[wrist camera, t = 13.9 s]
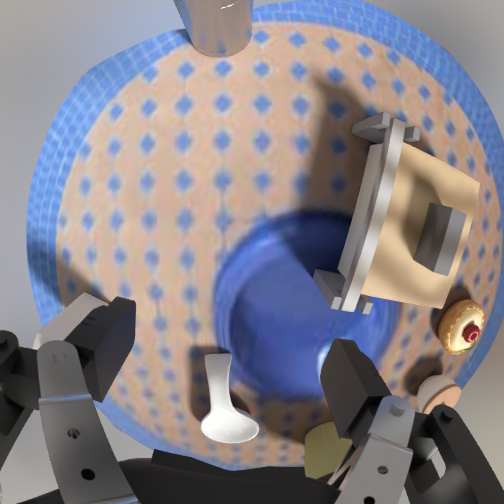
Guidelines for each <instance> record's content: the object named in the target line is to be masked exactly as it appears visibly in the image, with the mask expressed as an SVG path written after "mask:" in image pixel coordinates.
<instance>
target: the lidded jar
mask: <svg viewBox="0 0 504 504" xmlns="http://www.w3.org/2000/svg"><path fill="white" fill-rule="evenodd" d="M460 394H461V388H460V387H459V386H458V385H457V384H456V383H455V382H454V381H453V380H452V379H451V378H449V377H447V376H444V375H433V376H430V377H428V378H427V379H426V380H424V381H423V382H422V384H421V385H420V387H419V389H418V394H417V405H418V408H419V410H420V412H421V413H424V414H429V413H430V412H431V410H432V409H433V408H434V406H436V405H439V404H443V405H447V406H449V407H451V408H452V407H453V406H454V405H455V404H456V402H457V401H458V399H459V397H460Z"/></svg>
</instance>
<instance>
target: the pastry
mask: <svg viewBox="0 0 504 504" xmlns="http://www.w3.org/2000/svg"><path fill="white" fill-rule="evenodd" d="M483 321H484V312H483V309H482V307H481V306H480V305H479V304H478V303H476V302H475V301H473V300H461V301H458V302H456V303H454V304H453V305H451V306H450V307H449V308H448V310H447V311H446V312H445V313H444V315H443V317H442V319H441V321H440V324H439V328H438V334H439V339H440V341H441V344H442V345H443V347H444V348H445V350H446V351H447V352H448V353H449V354H452V355H457V354H461V353H462V352H464V351H466V350H471V349H472V348H473V347H474V346H475V341H476V340H477V338H478V336H479V334H480V333H481V329H482V327H483ZM473 343H474V345H473ZM472 345H473V346H472ZM471 346H472V347H471ZM469 347H471V348H469ZM468 348H469V349H468Z"/></svg>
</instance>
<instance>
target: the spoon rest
mask: <svg viewBox="0 0 504 504" xmlns="http://www.w3.org/2000/svg"><path fill="white" fill-rule="evenodd" d="M231 358H232V354H230V353H224V354H207V355H205V367H206V372H207V378H208V385H209V393H210V403H211V410H210V412H209V413H208V414H207V415H206V416H205V417H204V418H203V419H202V421H201V425H200V426H201V430H202V432H203V433H204V434H205V435H206V436H207V437H208V438H210V439H212V440H215V441H218V442H224V443H239V442H244V441H248V440H250V439H252V438H254V437H255V436H256V435H257V433H258V432H259V425H258V423H257V422H256V420H255V419H254V418H253V417H252V416H251V415H250V414H248V413H247V412H245V411H243V410H241V409H238V408H235V407H233V405H232V403H231V399H230V394H229V385H228V379H229V369H230V364H231Z"/></svg>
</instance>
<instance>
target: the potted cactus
mask: <svg viewBox="0 0 504 504" xmlns="http://www.w3.org/2000/svg"><path fill="white" fill-rule="evenodd" d="M351 444H352V440H351V439H348V440H339V437H338V433H337V430H336V427H335V424H334V421H332V422H327V423H324V424H321V425H319V426H317V427H315V428H313V429H312V430H310V431H309V432H308V434H307V435H306V437H305V475H306V477H311V478H314V479H318V480H320V481H323V482H325V483H328V481H329V480H330V478H331V477H332V475H333V474H334V472H335V470H336V469H337V467H338V465H339V464H340V462H341V460H342V459H343V457H344V455H345V453H346V452H347V450H348V448H349V447H350V445H351Z"/></svg>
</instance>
